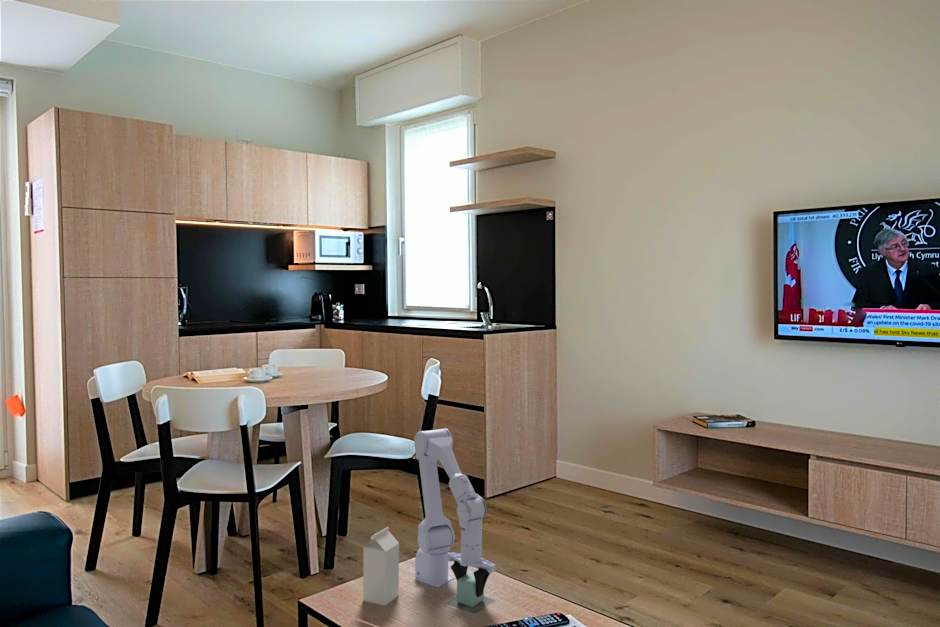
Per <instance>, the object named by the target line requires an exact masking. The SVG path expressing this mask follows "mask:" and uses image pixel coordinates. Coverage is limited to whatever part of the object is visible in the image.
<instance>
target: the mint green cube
mask: <svg viewBox="0 0 940 627" xmlns="http://www.w3.org/2000/svg"><path fill="white" fill-rule="evenodd" d="M484 596H485V590H484V591H483V595H481V596H479V597H477V596H476V582H475V577H474V574H473V573H469V572H467V574H466V575H465V576H463V577H461V578H460V579H458V580H456V597H457V602H459V603H462V604H465V605H468V606H470V607H474V606H475V605H477V604H478V603H480V602H481V601H483V600H484Z"/></svg>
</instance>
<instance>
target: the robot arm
mask: <svg viewBox="0 0 940 627" xmlns="http://www.w3.org/2000/svg"><path fill="white" fill-rule="evenodd" d="M413 444H414V445H413V446H414V451H415V452H414V453H415V458H416V460H418V463H419V465H418V466H419V472H420V481H421V490H422V497H423V506H424V514H425V515H424V516H425V517H424V518H423V520H421V522H420V523H419V524H418V525H417V545H418V546H419V547H418V550H417V551H416V554H415V560H414V561H415V562H414V568H415V569H414V577H413V580H414V581H418V582H421V583H424V584H428V585H430V586H433V587H437V588H438V587H441V586H443V585H445V584H447V583H448V582H451V581H452V580H454V579H455V580H456V581H457V580H458V579H460V578H461V577H463V576H465V575H467V574H468V567H470V568H471V567H472V568H475V569H477V570H474V571H473V573H472V575H474V577H475V582H476V596H477V597H479V596H481V595H483V591H484V592H485V586H486V583H487V581H488V579H489V576H490V575H491V574H492V573H495V572H496V563H493V562H490V561H489V560H487V559H485V558H483V557H482V556H483V552H482V550H483V518H486V516H487V512H488V510H487V508H488V507H487V504H486V501H485V499H484V498H483V497H482V496H480V495H479V494H478V493H476V492H475V491H476V490H474V487H473V485H472V483H471V482H470V479H469V477H468V475H466V474H465V473H462V472H461V469H460V465H459V464H458V460H457V459H456V456H455V453H454V451H453V445H454V439H453V437H452V432H451V431H450V430H449V429H448V428H446V427H444V428H440V429H439V428H438V429H430V430H419V431H417V433H416V434H415V437H414V438H413ZM438 461H439V463H440V464H441V466H442V468H443V469H444V471H445V472H446V475H447V476H448V478H449V482H448V487H449V490H450V491H451V493H452V495H453V498H454V500H455V502H456V504H457V507H456V514H457V517H458V523H459V527H460V552H459V553H458V552H453V551H451V552H449V551H450V550H451V547H452V546H453V545H454V543H455V539H456V536H455V535H456V534H455V532H454V529H453V526H452V521H451V520H450V519H449V518H447V517H446V516H445V515H444V514H443V513H444V512H443V504H442V498H441V497H442V496H441V487H440V480H439V473H438V466H437V465H438V464H437V462H438ZM449 562H453V564H451V565H450V568H451V569H450V570H451V571H452V572H453V574H454V576H451V575H449Z"/></svg>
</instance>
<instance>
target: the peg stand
mask: <svg viewBox="0 0 940 627" xmlns="http://www.w3.org/2000/svg"><path fill="white" fill-rule="evenodd" d="M496 600H497V599H494V598H491V597H487V596H485V595H484V600H483V601H481V602H480V603H478V604H477V605H475V606H474V607H470V606H468V605H465V604H462V603H459V602H457V596H455V597H453V598H452V599H450V600H448V601H447V602H445V604H446V605H449V606H452V607H455V608H458V609H461V610H462V611H463V610H464V611H466V612H469V613H473V614H477V613H479V612H480V611H482V610H483V609H485V608H486V607H488V606H490V605H492V604H493V603H494V602H496Z"/></svg>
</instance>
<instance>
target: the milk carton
mask: <svg viewBox="0 0 940 627" xmlns="http://www.w3.org/2000/svg"><path fill="white" fill-rule="evenodd" d="M369 538H370V540H371V541H369V542H368V543H367V544H366V545H364V546H363V554H362V555H363V556H362V557H363V562H362V565H363V566H362V567H363V568H362V573H363V574H362V575H363V576H362V577H363V578H362V588H363V590H362V600H363V601H364V602H367V603H371V604H376V605H379V606H387V605H388V604H389V603H391V602H392V601H394V600H395V599H396V598H397V597H399V594H400V593H399V589H400V588H399V587H400V586H399V584H400V582H399V581H400V578H399V577H400V574H399V573H400V568H399V567H400V543H399V541H398V540H397V539H396V538H395V537H394V535H393V534H392V533H391V532H390V528H389V526H387V527H385V528H383V529H382V530H380V531H378V532H376V533H374V534H373V535H372V536H370V537H369Z"/></svg>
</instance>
